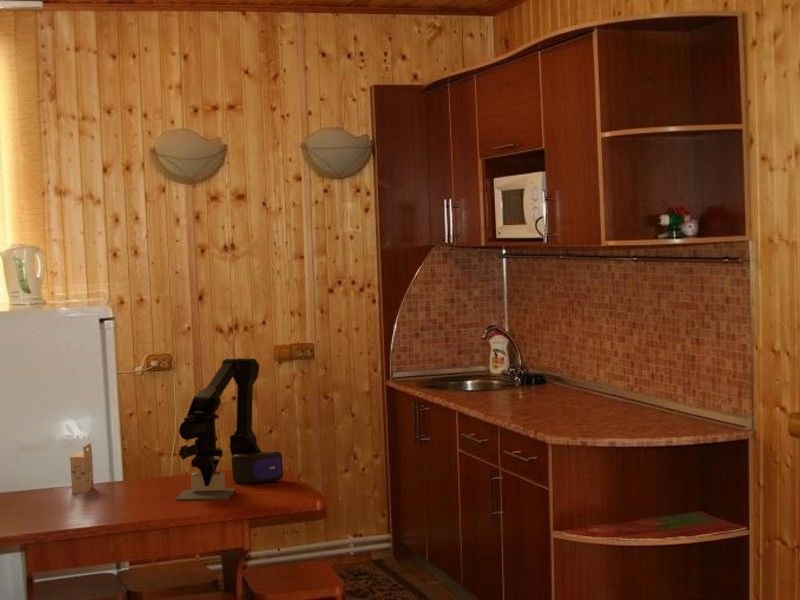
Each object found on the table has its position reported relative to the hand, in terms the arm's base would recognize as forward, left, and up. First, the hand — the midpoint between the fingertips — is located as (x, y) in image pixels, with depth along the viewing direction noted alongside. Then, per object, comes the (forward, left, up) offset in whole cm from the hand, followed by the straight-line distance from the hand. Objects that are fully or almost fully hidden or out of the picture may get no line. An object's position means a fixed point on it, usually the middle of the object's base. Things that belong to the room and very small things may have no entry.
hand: (208, 484), depth 369 cm
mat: (+3, 0, -3) cm, 4 cm away
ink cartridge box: (-8, -42, -3) cm, 43 cm away
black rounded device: (-16, +13, -3) cm, 21 cm away
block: (0, 0, -1) cm, 1 cm away
